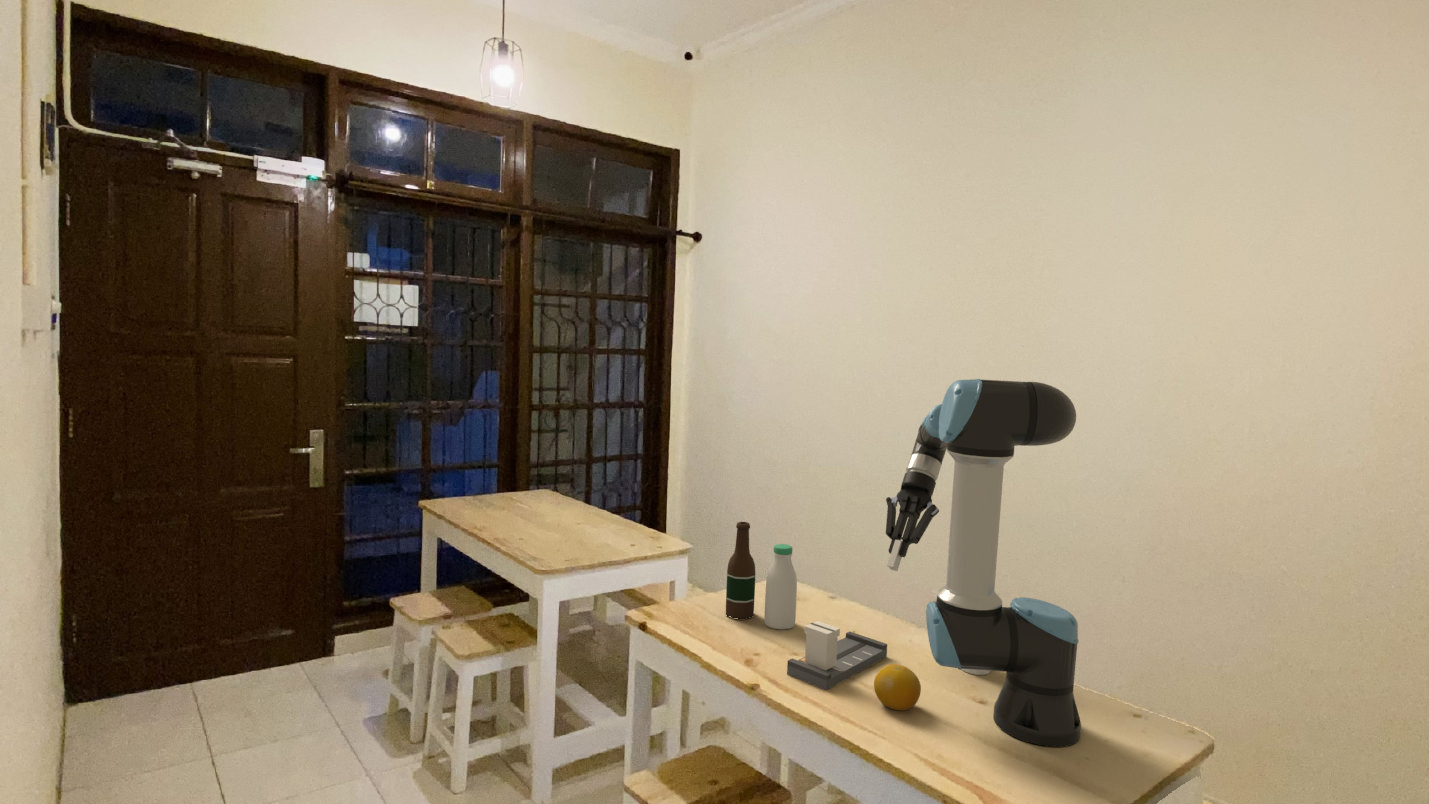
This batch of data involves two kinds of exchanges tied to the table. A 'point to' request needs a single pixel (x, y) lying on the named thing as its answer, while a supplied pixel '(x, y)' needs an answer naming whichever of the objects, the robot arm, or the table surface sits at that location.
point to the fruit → (897, 687)
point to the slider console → (841, 661)
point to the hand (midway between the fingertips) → (892, 568)
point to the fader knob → (821, 645)
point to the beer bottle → (741, 577)
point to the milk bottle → (781, 590)
